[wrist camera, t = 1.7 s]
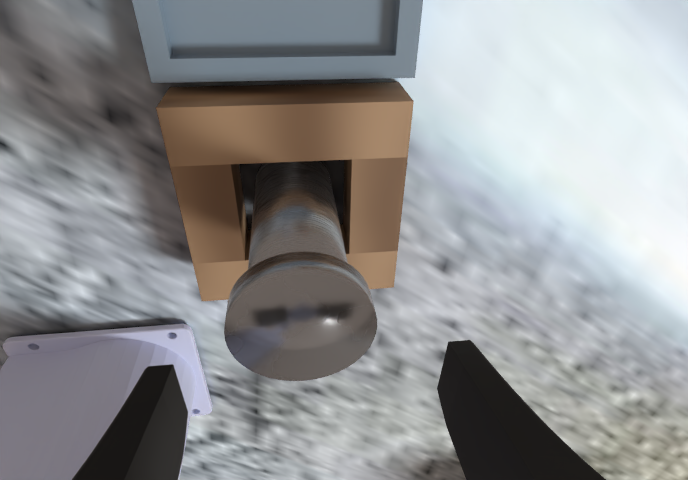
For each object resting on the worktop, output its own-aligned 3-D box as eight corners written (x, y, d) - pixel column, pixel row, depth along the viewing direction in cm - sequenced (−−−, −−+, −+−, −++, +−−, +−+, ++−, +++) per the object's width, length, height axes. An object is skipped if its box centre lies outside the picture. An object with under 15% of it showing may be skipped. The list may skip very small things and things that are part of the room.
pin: (250, 227, 21) (235, 386, 14) (238, 141, 18) (212, 280, 11) (340, 222, 21) (372, 374, 14) (341, 137, 19) (381, 269, 12)
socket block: (208, 268, 22) (202, 301, 20) (169, 87, 17) (155, 108, 15) (383, 256, 23) (393, 287, 21) (398, 82, 18) (413, 101, 16)
